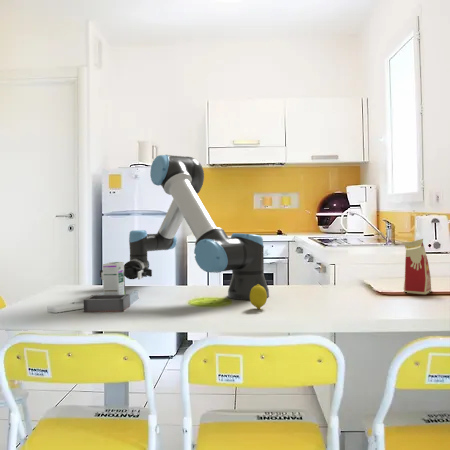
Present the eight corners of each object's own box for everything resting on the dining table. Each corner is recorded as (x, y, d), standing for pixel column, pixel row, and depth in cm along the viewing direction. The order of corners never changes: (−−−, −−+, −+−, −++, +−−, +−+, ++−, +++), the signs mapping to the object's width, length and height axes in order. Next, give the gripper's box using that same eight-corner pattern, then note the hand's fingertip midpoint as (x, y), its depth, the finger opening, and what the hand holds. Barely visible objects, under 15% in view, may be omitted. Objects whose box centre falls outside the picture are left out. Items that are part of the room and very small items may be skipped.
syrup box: (119, 305, 169) (118, 263, 169) (103, 305, 171) (102, 263, 170) (125, 302, 175) (124, 261, 175) (110, 302, 176) (109, 261, 176)
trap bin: (92, 306, 168) (92, 295, 168) (129, 306, 168) (129, 294, 168) (83, 312, 159) (83, 299, 159) (123, 311, 159) (123, 299, 159)
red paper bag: (431, 290, 185) (430, 237, 185) (426, 294, 178) (426, 239, 177) (406, 289, 190) (405, 237, 190) (400, 292, 183) (400, 239, 182)
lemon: (262, 311, 155) (261, 286, 154) (246, 309, 158) (246, 284, 157) (270, 308, 159) (269, 283, 159) (255, 306, 162) (254, 282, 162)
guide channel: (105, 299, 183) (104, 290, 183) (138, 298, 182) (137, 290, 182) (93, 306, 169) (93, 297, 169) (129, 305, 168) (129, 297, 168)
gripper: (163, 277, 203) (154, 285, 182) (104, 278, 204) (87, 286, 183) (163, 259, 202) (153, 265, 181) (103, 260, 204) (87, 266, 182)
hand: (120, 276), depth 182 cm, fingers open, 13 cm apart
